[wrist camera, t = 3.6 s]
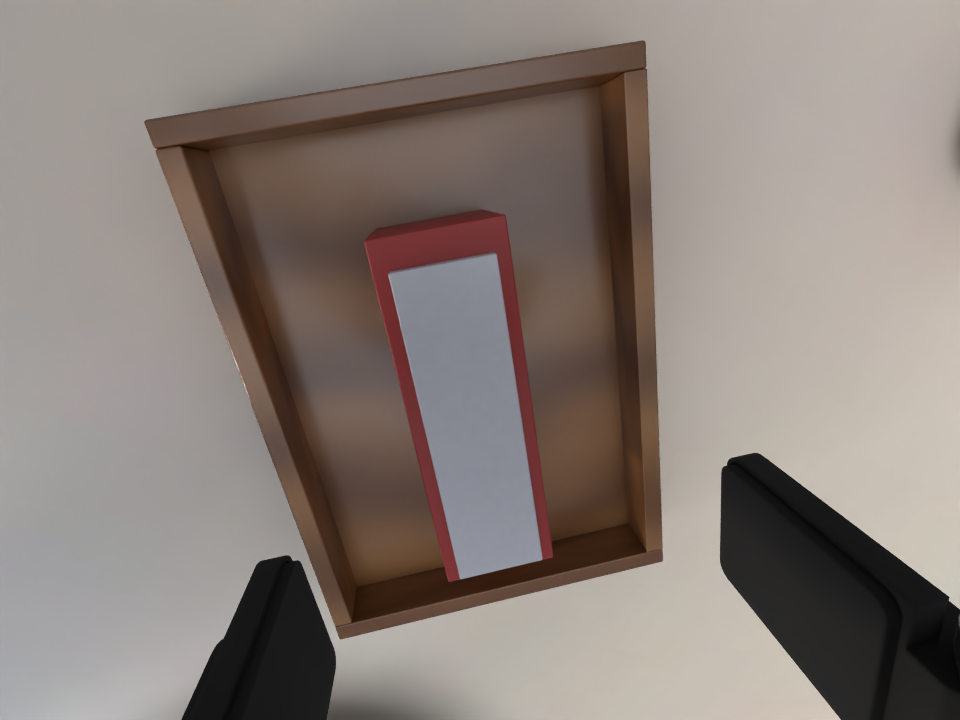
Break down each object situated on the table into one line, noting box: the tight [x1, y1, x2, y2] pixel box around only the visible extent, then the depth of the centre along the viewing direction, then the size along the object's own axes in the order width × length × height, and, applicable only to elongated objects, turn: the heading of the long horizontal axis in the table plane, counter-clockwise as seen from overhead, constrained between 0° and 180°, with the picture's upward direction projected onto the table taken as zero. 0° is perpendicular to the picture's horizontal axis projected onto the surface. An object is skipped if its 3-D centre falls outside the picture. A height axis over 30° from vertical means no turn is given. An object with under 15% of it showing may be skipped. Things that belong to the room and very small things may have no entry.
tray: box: [145, 41, 663, 639], centre depth 19 cm, size 22×16×2 cm
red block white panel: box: [364, 209, 553, 582], centre depth 18 cm, size 13×4×5 cm, turn 10°
